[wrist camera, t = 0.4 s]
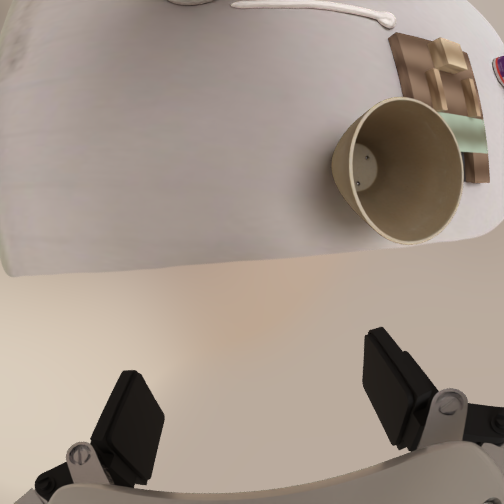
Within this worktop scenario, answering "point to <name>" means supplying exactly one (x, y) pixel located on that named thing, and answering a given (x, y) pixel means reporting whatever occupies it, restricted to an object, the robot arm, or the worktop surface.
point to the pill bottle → (499, 68)
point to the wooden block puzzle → (445, 100)
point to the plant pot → (400, 170)
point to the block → (447, 56)
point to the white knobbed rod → (383, 17)
